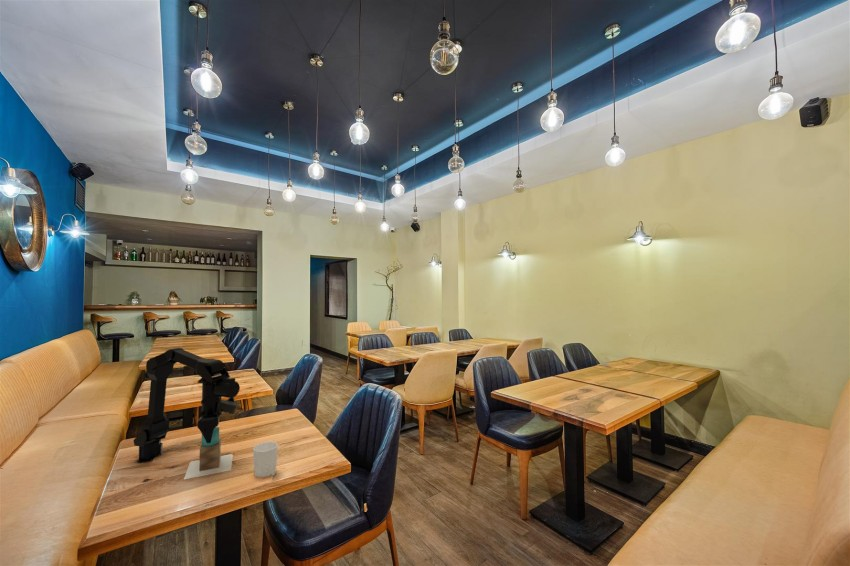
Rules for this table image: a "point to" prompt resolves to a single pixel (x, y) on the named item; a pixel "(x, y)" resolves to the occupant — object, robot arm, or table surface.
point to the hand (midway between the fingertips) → (210, 438)
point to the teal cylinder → (214, 438)
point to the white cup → (265, 459)
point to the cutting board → (194, 469)
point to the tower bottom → (209, 463)
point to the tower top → (210, 451)
